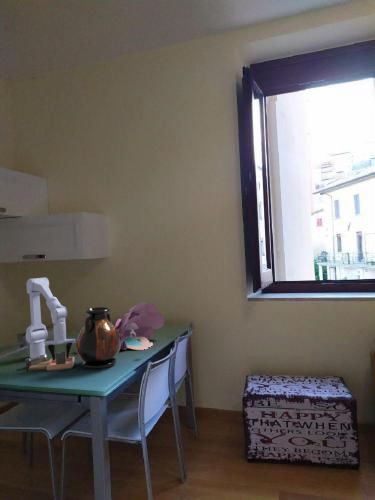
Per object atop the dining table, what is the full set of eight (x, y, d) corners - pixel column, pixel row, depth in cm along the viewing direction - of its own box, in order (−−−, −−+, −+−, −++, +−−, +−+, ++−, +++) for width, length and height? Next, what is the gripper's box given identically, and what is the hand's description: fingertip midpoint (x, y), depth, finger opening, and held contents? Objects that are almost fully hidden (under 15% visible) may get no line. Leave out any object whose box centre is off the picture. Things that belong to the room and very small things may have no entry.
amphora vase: (94, 357, 187) (93, 305, 187) (129, 360, 179) (127, 306, 179) (67, 370, 167) (65, 312, 167) (105, 374, 159) (102, 313, 159)
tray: (50, 363, 178) (50, 358, 178) (74, 361, 181) (74, 356, 181) (46, 371, 167) (46, 365, 167) (71, 368, 169) (71, 363, 169)
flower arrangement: (138, 363, 188) (144, 314, 184) (100, 353, 195) (105, 305, 191) (162, 341, 222) (167, 298, 218) (129, 332, 228) (133, 291, 224)
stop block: (57, 364, 175) (57, 352, 175) (65, 363, 176) (65, 351, 176) (56, 366, 172) (55, 354, 172) (64, 365, 172) (64, 353, 172)
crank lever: (43, 359, 183) (43, 352, 183) (48, 360, 181) (48, 353, 181) (23, 366, 172) (23, 359, 172) (28, 367, 171) (28, 360, 171)
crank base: (33, 363, 180) (33, 361, 180) (49, 361, 182) (49, 359, 182) (28, 370, 169) (27, 368, 169) (45, 368, 170) (45, 366, 170)
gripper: (42, 334, 168) (43, 362, 168) (74, 332, 171) (75, 359, 171) (45, 331, 175) (46, 358, 175) (75, 329, 178) (76, 355, 178)
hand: (60, 358), depth 174 cm, fingers open, 6 cm apart
